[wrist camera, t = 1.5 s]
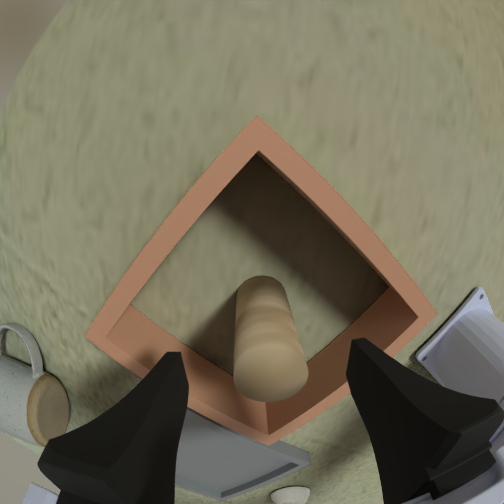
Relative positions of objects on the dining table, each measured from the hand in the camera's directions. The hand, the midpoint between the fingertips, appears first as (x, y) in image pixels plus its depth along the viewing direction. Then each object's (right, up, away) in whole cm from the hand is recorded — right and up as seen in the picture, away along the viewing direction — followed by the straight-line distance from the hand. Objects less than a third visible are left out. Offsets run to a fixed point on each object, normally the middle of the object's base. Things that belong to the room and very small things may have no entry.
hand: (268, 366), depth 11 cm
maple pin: (0, +2, +6) cm, 6 cm away
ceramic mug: (-22, -6, +8) cm, 24 cm away
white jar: (+4, -26, +16) cm, 31 cm away
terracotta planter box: (0, +2, +6) cm, 6 cm away
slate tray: (-6, -15, +11) cm, 20 cm away
